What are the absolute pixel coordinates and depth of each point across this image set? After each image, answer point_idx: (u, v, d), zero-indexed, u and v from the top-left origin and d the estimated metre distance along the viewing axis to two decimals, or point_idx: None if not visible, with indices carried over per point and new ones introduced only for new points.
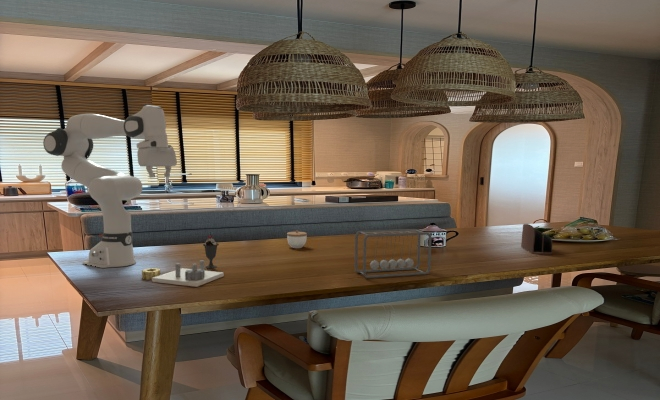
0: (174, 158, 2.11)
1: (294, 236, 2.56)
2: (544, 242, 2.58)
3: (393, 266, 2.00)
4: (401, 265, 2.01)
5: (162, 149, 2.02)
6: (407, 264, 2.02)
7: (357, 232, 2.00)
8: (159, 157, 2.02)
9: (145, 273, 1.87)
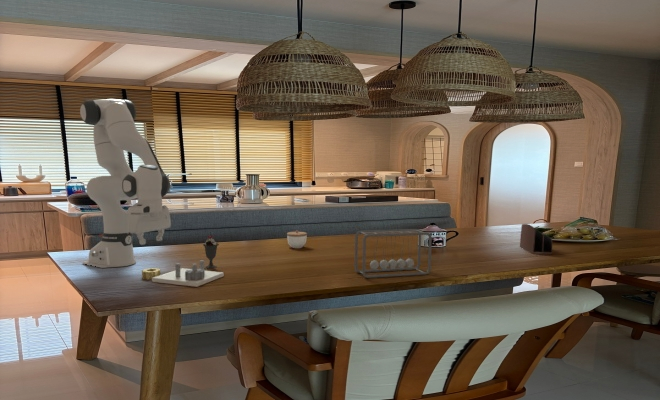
0: (168, 220, 1.96)
1: (294, 236, 2.56)
2: (543, 242, 2.59)
3: (393, 266, 2.00)
4: (401, 265, 2.01)
5: (155, 213, 1.87)
6: (407, 264, 2.02)
7: (357, 232, 2.01)
8: (152, 221, 1.87)
9: (145, 273, 1.87)
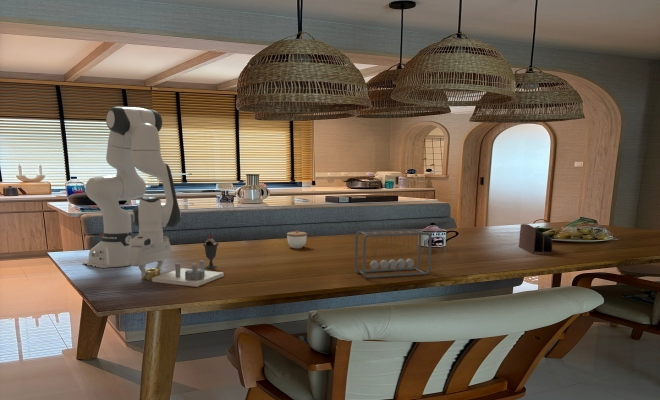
0: (169, 250, 1.97)
1: (294, 236, 2.56)
2: None
3: (393, 266, 2.00)
4: (401, 265, 2.01)
5: (156, 245, 1.88)
6: (407, 264, 2.02)
7: (357, 232, 2.01)
8: (153, 253, 1.88)
9: None
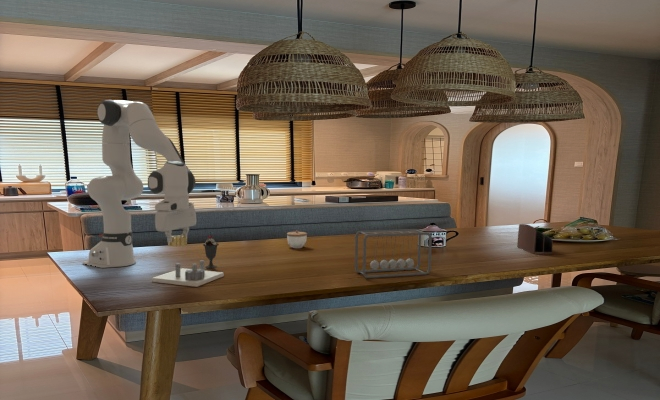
0: (194, 218, 1.91)
1: (294, 236, 2.56)
2: None
3: (393, 266, 2.00)
4: (401, 265, 2.01)
5: (182, 211, 1.82)
6: (407, 264, 2.02)
7: (357, 232, 2.00)
8: (179, 219, 1.82)
9: None
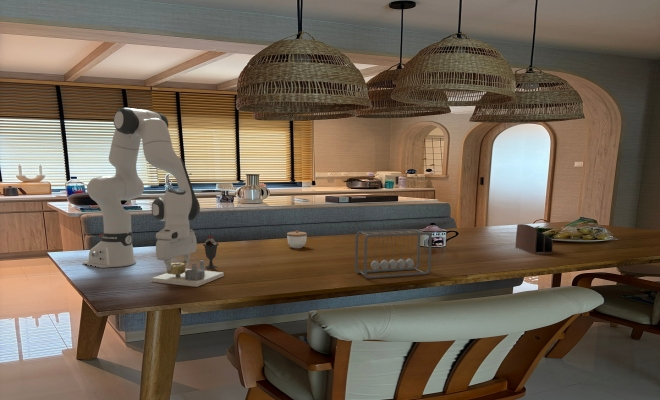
0: (194, 244, 1.92)
1: (294, 236, 2.56)
2: None
3: (393, 266, 2.00)
4: (401, 265, 2.01)
5: (183, 239, 1.83)
6: (407, 264, 2.02)
7: None
8: (179, 246, 1.83)
9: None
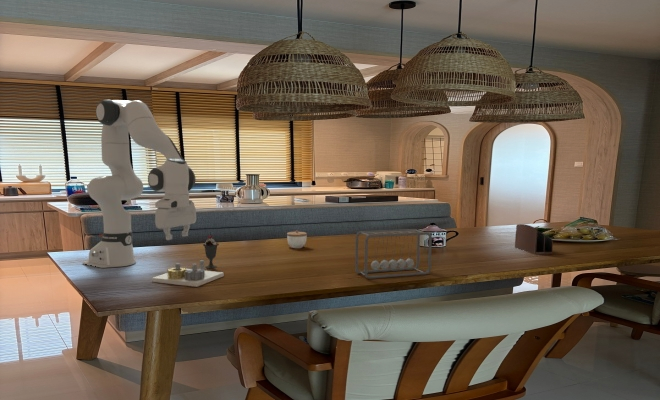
0: (194, 215, 1.91)
1: (294, 236, 2.56)
2: None
3: (394, 266, 1.99)
4: (401, 265, 2.01)
5: (182, 208, 1.82)
6: (407, 264, 2.02)
7: (358, 232, 1.99)
8: (179, 216, 1.83)
9: (171, 272, 1.82)
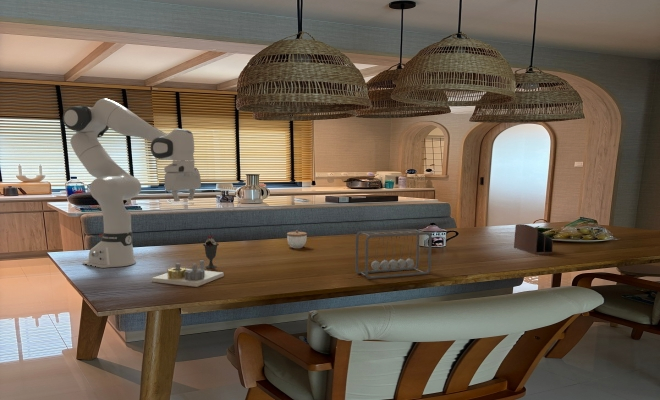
0: (199, 181, 2.12)
1: (294, 236, 2.56)
2: None
3: (394, 266, 1.99)
4: (402, 265, 2.01)
5: (189, 173, 2.03)
6: (407, 264, 2.02)
7: (358, 232, 1.99)
8: (185, 181, 2.03)
9: (171, 272, 1.82)
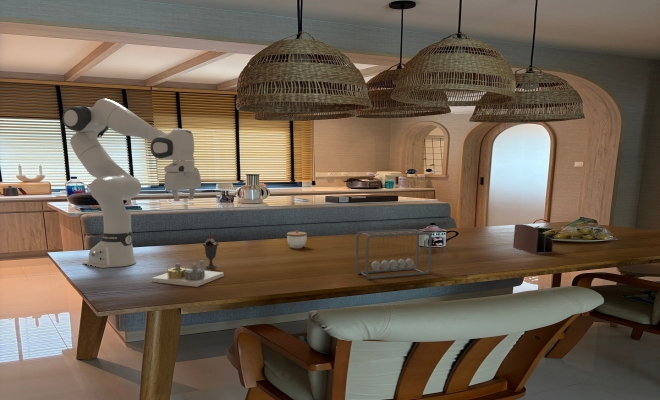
0: (199, 181, 2.12)
1: (294, 236, 2.56)
2: None
3: (394, 266, 1.99)
4: (402, 265, 2.01)
5: (189, 173, 2.03)
6: (407, 264, 2.02)
7: (358, 233, 1.99)
8: (185, 180, 2.03)
9: (171, 272, 1.82)
